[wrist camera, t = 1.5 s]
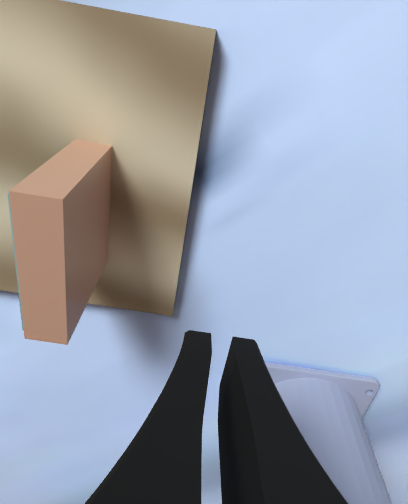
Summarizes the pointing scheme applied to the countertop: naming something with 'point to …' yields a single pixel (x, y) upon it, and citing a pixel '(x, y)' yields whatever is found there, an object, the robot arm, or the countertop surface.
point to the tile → (61, 238)
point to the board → (108, 129)
